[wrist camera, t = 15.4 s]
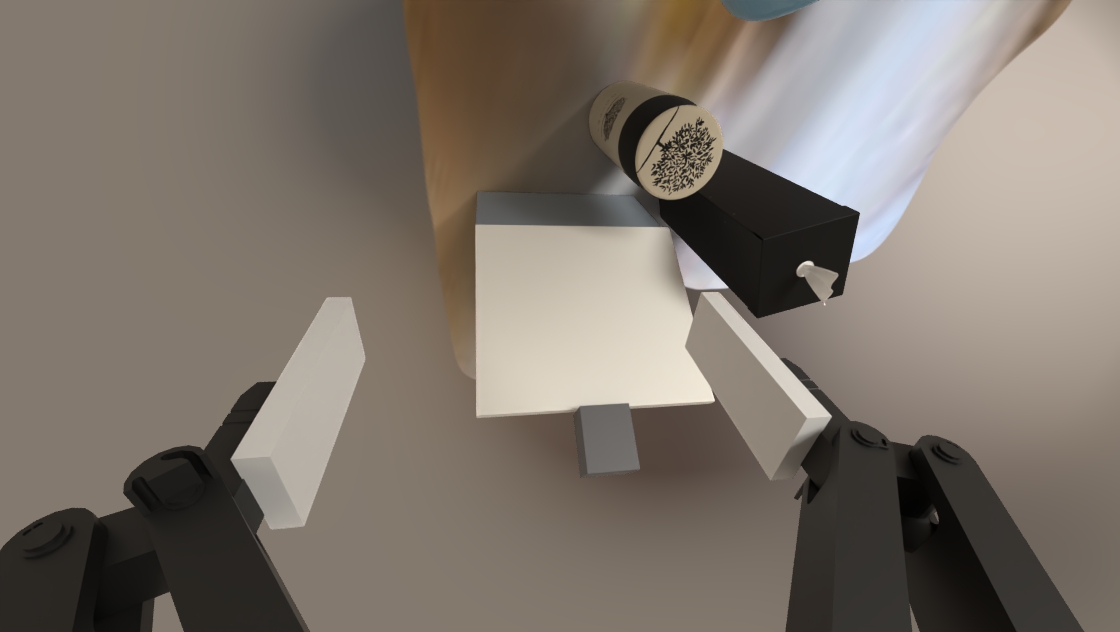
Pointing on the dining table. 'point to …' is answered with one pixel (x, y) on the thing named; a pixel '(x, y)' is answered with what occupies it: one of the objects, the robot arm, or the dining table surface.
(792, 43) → the dining table surface
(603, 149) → the travel mug
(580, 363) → the lid
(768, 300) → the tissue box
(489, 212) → the carton
